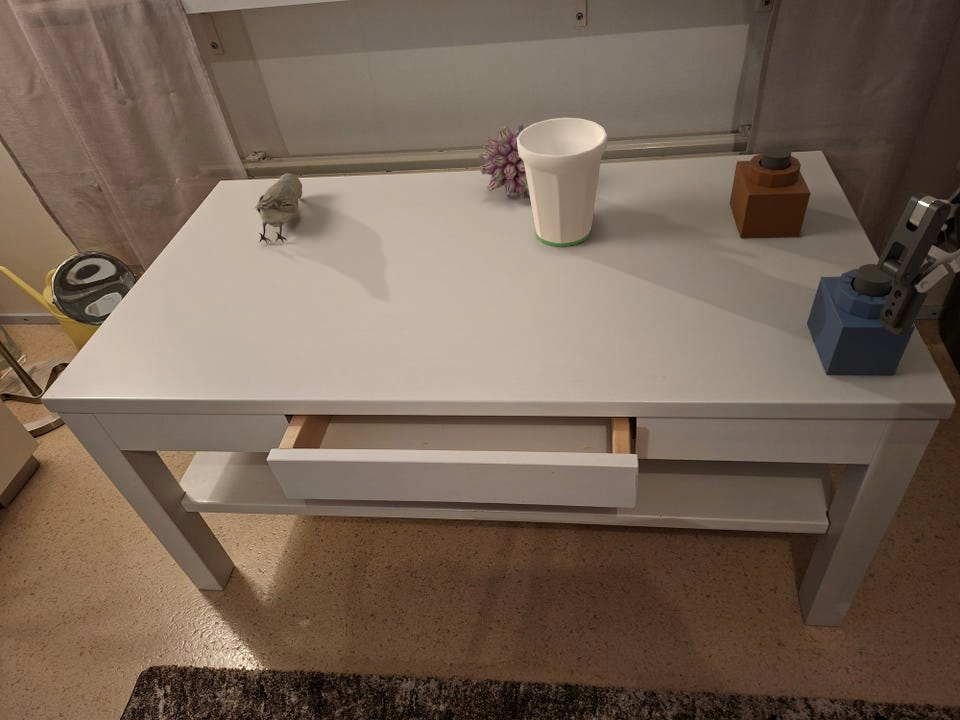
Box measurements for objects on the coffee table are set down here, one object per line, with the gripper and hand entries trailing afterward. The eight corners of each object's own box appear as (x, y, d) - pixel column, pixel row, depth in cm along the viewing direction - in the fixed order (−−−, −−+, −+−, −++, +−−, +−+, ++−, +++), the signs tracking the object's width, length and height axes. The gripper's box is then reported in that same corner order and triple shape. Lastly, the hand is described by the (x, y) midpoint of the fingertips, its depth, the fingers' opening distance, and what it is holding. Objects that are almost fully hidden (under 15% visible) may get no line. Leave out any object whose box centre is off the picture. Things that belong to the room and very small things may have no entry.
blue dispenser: (806, 323, 80) (825, 262, 74) (868, 323, 79) (892, 261, 73) (825, 374, 73) (848, 312, 67) (893, 375, 72) (922, 311, 66)
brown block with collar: (799, 237, 93) (814, 179, 87) (740, 238, 94) (751, 181, 88) (784, 201, 100) (797, 145, 94) (729, 203, 102) (738, 148, 96)
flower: (537, 181, 116) (565, 197, 106) (473, 195, 114) (496, 213, 104) (531, 113, 110) (560, 123, 100) (464, 127, 108) (487, 138, 98)
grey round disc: (790, 171, 90) (794, 157, 89) (763, 172, 91) (766, 158, 89) (785, 159, 93) (788, 145, 91) (758, 160, 93) (761, 146, 92)
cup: (546, 204, 107) (543, 112, 97) (617, 220, 101) (622, 124, 91) (507, 243, 100) (499, 148, 89) (582, 262, 94) (582, 163, 84)
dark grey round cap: (848, 279, 72) (853, 264, 70) (882, 279, 71) (888, 263, 70) (857, 298, 69) (863, 282, 68) (892, 298, 69) (899, 282, 67)
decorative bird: (314, 197, 117) (302, 158, 112) (289, 247, 106) (274, 206, 101) (285, 198, 118) (272, 160, 113) (257, 248, 106) (241, 208, 101)
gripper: (1015, 122, 38) (895, 356, 47) (1194, 135, 41) (1052, 353, 50) (919, 96, 45) (829, 307, 53) (1081, 110, 48) (972, 307, 56)
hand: (937, 329), depth 52 cm, fingers open, 8 cm apart
